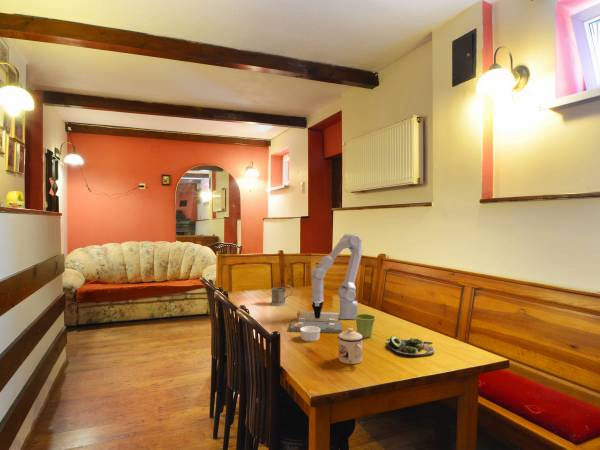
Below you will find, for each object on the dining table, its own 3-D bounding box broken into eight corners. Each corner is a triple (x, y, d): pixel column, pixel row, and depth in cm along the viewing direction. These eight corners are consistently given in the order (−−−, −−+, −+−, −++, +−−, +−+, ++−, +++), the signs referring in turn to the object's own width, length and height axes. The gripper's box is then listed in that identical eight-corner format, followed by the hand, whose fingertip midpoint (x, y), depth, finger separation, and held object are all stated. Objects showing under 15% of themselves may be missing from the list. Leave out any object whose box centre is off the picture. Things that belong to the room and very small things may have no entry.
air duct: (338, 319, 190) (338, 311, 190) (338, 322, 186) (338, 314, 186) (297, 318, 192) (297, 310, 192) (296, 320, 188) (296, 312, 188)
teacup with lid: (333, 357, 138) (333, 326, 138) (354, 354, 142) (354, 324, 142) (350, 369, 127) (350, 336, 127) (372, 365, 131) (372, 332, 131)
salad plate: (421, 340, 159) (421, 329, 159) (447, 355, 142) (447, 343, 142) (380, 343, 155) (380, 332, 155) (401, 359, 137) (401, 347, 137)
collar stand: (341, 325, 180) (341, 318, 180) (342, 333, 168) (342, 325, 168) (292, 323, 182) (292, 316, 182) (289, 331, 170) (289, 323, 170)
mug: (267, 305, 221) (267, 285, 221) (274, 301, 230) (274, 282, 230) (289, 307, 216) (289, 287, 215) (295, 303, 225) (296, 284, 224)
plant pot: (376, 333, 167) (376, 314, 167) (373, 340, 158) (374, 320, 158) (356, 331, 170) (356, 313, 170) (352, 338, 161) (352, 318, 161)
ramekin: (316, 343, 155) (316, 333, 154) (297, 340, 158) (297, 330, 158) (322, 336, 163) (322, 327, 163) (304, 334, 166) (304, 325, 166)
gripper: (310, 287, 196) (310, 313, 196) (309, 293, 182) (308, 320, 182) (324, 288, 196) (323, 313, 196) (323, 293, 181) (323, 321, 181)
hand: (317, 317), depth 189 cm, fingers closed on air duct, 4 cm apart
